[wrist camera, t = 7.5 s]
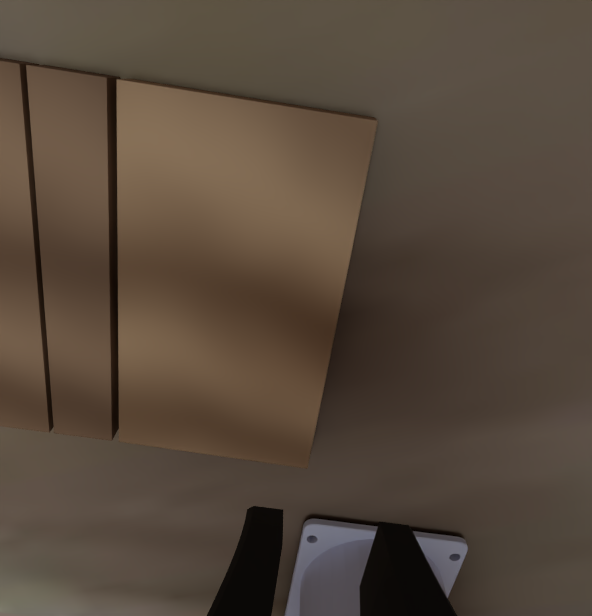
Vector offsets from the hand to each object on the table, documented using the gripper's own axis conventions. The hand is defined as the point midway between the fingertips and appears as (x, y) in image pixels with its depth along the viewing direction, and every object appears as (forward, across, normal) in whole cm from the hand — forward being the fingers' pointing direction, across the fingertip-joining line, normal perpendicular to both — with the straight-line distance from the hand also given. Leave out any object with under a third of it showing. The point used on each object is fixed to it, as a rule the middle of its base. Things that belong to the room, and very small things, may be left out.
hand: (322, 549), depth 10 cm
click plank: (+10, +3, -1) cm, 11 cm away
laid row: (+10, +10, -1) cm, 15 cm away
